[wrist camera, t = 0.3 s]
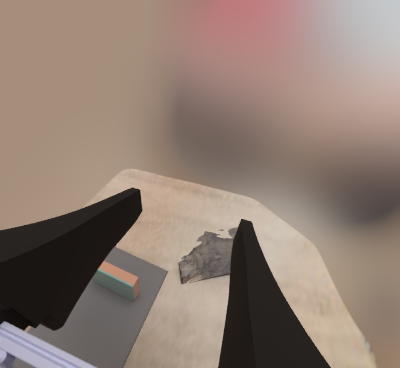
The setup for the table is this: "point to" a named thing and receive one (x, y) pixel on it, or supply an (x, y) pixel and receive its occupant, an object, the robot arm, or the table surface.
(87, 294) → the mat
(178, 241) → the table surface
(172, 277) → the table surface
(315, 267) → the table surface
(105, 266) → the tile
